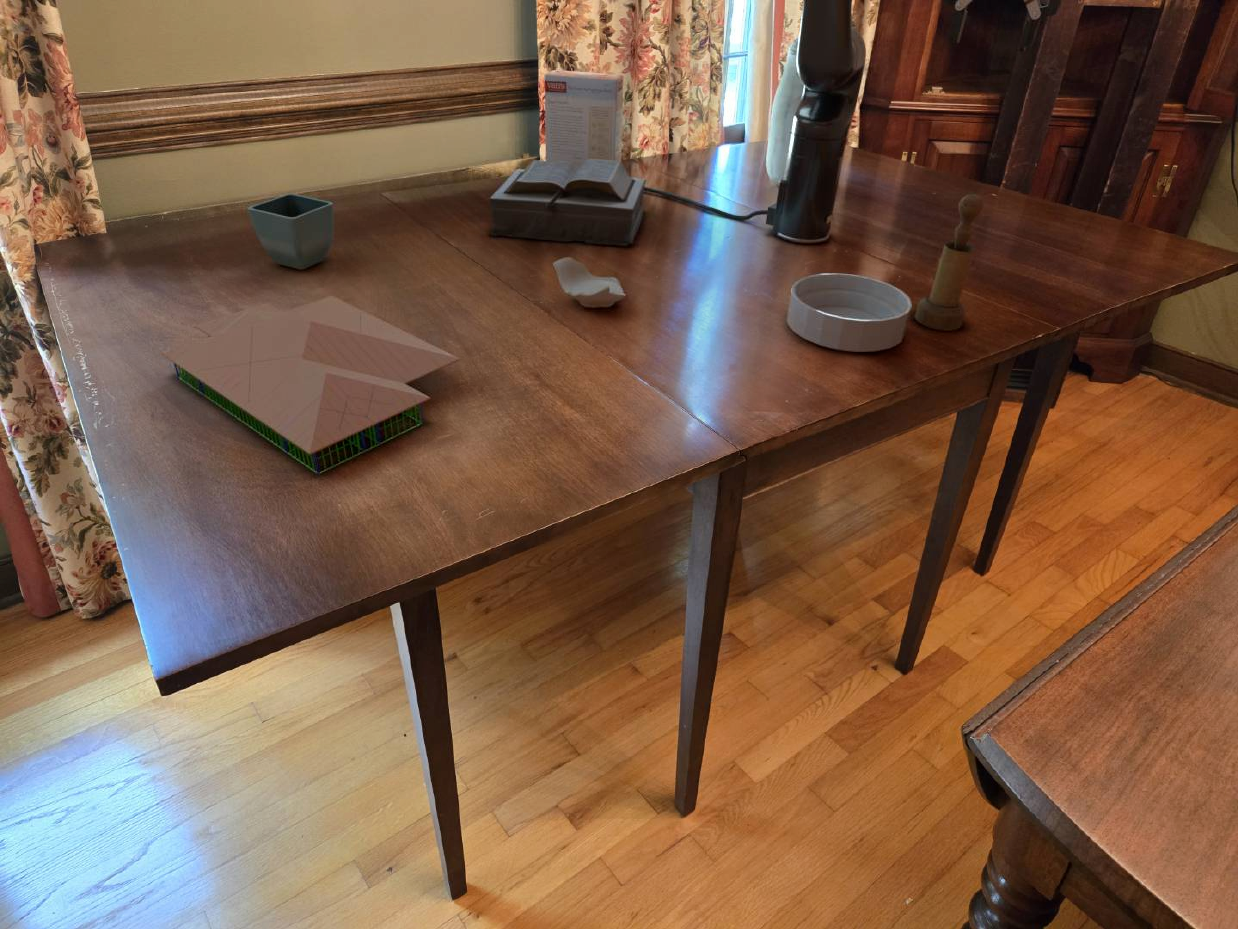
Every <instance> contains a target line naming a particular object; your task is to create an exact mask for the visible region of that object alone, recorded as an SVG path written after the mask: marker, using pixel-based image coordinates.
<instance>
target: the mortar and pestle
mask: <svg viewBox="0 0 1238 929" xmlns="http://www.w3.org/2000/svg"><path fill="white" fill-rule="evenodd" d="M957 207H958V213H959V217H960V222H959V224H958V226H956V227H955V228H954V241H953V240H951V241H946V242H945V243H944V245H943V249H942V253H941V256H940V261H939V263H938V268H937V271H936V274H935V278H934V281H933V285H932V288H931V291H930V295H927V296H926V297H924V298H921V299H920V300H919V301H918V304H917V308H916V311H915V314H914V318H915V321H916V322H917V323H918V324H920V325H922V326H924V327H925V328H929V329H933V330H938V331H943V332H944V331H945V332H951V331H956V330H958V329H960V328H961V327H962V325H963V321H964V318H965V315H966V308H965V307H964V306H963V304H962V302H960V298H961V295H962V292H963V289H964V286H965V282H966V280H967V279H966V278H967V277H968V273H969V271H970V270H969V269H970V266H971V264H972V260H973V258H974V254H975V251H976V248H975V247H974V246H972V245H971V244H969V243H968V242H969V240H970V239H971V237H972V235H973V233H974V229H973V228H972V224H973V222H974V220H975V219H976V218H977V217H978V216H979V215H980V214H981V213H982V211H983V208H984V201H983V198H982V197H981V196H980V195H978V194H973V193H970V194H966V195H964V196H963V197H962V198H961V199H960V201H959V203H958V206H957Z"/></svg>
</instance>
